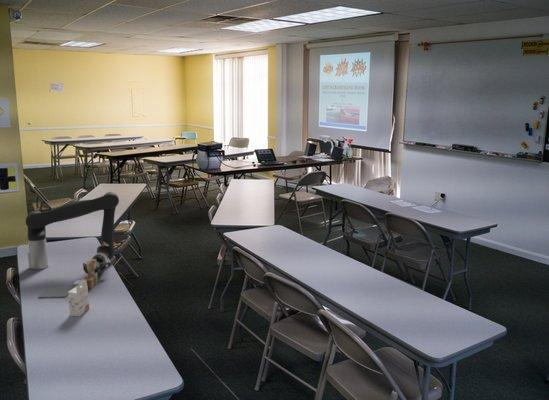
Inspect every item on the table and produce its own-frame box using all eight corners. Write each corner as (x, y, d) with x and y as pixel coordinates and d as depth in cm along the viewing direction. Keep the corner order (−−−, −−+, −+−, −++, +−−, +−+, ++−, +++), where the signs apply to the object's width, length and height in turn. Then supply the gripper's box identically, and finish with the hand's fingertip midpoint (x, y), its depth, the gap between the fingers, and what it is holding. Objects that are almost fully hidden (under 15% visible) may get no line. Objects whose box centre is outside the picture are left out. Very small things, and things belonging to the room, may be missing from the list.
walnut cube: (82, 289, 248) (81, 280, 247) (84, 285, 253) (84, 276, 252) (91, 289, 249) (91, 280, 248) (94, 285, 254) (93, 276, 253)
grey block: (73, 295, 241) (73, 283, 240) (76, 291, 246) (76, 280, 245) (84, 294, 242) (83, 283, 241) (86, 290, 247) (86, 280, 245)
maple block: (88, 282, 258) (86, 261, 255) (90, 279, 262) (88, 258, 259) (95, 282, 258) (94, 261, 256) (97, 279, 262) (96, 258, 259)
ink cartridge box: (80, 308, 227) (78, 278, 224) (89, 309, 226) (87, 279, 223) (69, 315, 219) (66, 285, 216) (78, 317, 218) (76, 286, 215)
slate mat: (38, 298, 237) (38, 296, 237) (47, 287, 249) (47, 286, 249) (65, 297, 238) (65, 296, 238) (73, 287, 251) (73, 286, 251)
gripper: (85, 254, 271) (76, 265, 254) (111, 254, 272) (104, 264, 256) (86, 267, 272) (77, 278, 256) (112, 266, 274) (104, 277, 257)
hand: (90, 271), depth 256 cm, fingers closed on maple block, 4 cm apart
